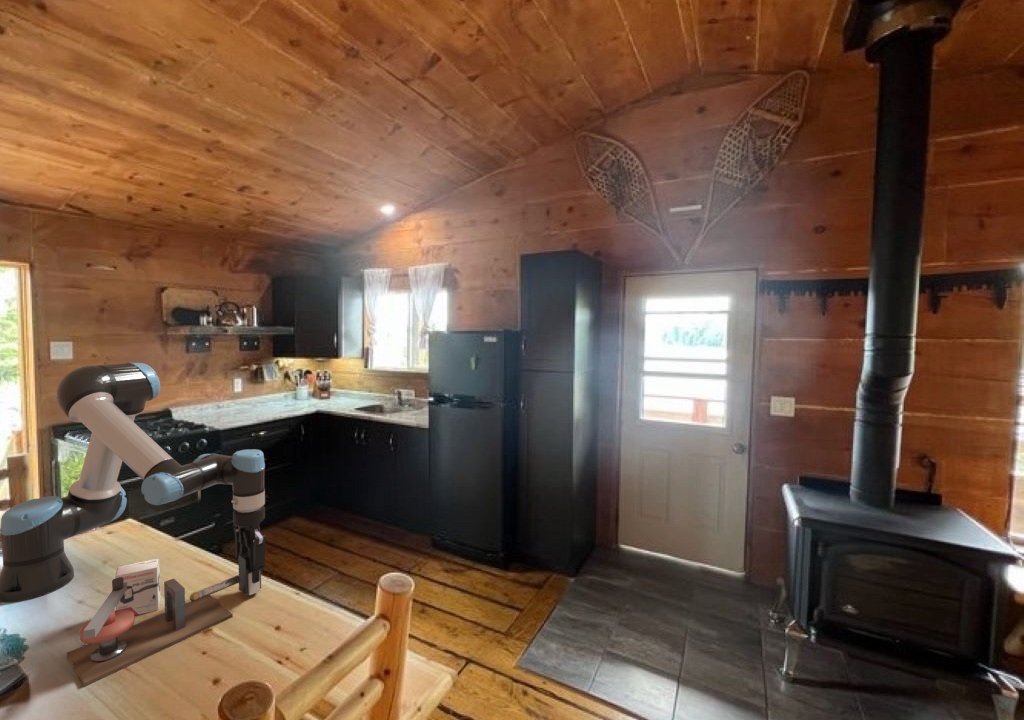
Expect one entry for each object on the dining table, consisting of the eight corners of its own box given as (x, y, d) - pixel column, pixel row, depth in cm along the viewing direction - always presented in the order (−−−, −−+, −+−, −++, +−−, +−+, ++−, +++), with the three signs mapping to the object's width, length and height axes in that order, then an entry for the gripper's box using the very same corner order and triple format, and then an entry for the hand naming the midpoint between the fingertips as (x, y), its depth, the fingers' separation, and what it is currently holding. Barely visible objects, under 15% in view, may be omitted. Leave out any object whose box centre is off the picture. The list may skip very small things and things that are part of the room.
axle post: (87, 654, 100) (86, 632, 100) (121, 639, 105) (121, 618, 105) (94, 666, 97) (93, 644, 96) (130, 650, 101) (129, 629, 101)
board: (67, 656, 100) (66, 652, 100) (208, 596, 123) (208, 593, 123) (84, 686, 92) (84, 682, 92) (232, 616, 115) (232, 613, 115)
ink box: (115, 621, 112) (113, 575, 111) (119, 610, 116) (117, 566, 116) (159, 610, 117) (157, 566, 116) (160, 600, 121) (159, 557, 120)
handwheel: (61, 663, 90) (59, 624, 90) (98, 610, 107) (97, 577, 106) (118, 650, 94) (117, 614, 93) (146, 601, 110) (145, 570, 110)
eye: (165, 619, 112) (164, 581, 111) (174, 615, 114) (173, 578, 113) (175, 631, 108) (174, 591, 107) (185, 626, 110) (184, 588, 109)
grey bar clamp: (187, 612, 115) (186, 574, 114) (254, 583, 128) (253, 549, 127) (193, 618, 112) (192, 579, 112) (261, 588, 126) (260, 553, 125)
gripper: (219, 503, 125) (221, 584, 127) (249, 520, 115) (250, 608, 117) (248, 495, 131) (249, 573, 133) (279, 511, 122) (279, 594, 123)
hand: (250, 589), depth 125 cm, fingers closed on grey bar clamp, 4 cm apart
